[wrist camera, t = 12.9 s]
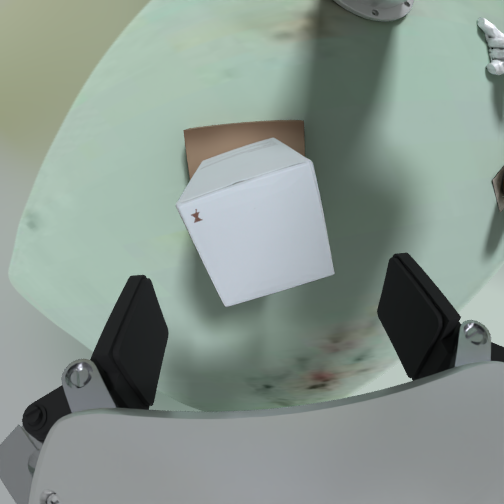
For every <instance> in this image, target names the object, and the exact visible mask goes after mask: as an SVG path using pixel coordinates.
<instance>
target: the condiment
mask: <svg viewBox="0 0 504 504" xmlns="http://www.w3.org/2000/svg"><path fill="white" fill-rule="evenodd" d="M493 185H494V189H495V194H496V198H497V202H498V207H499V210H500V213H501V211H502V210H503V209H504V197H503V196H504V166H503V168H502V169H501V170H500V172H499V173H498V174H497V175H496V177H495V178H494V179H493Z"/></svg>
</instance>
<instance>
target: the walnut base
mask: <svg viewBox="0 0 504 504" xmlns="http://www.w3.org/2000/svg"><path fill="white" fill-rule="evenodd" d="M184 138H185V146H186V154H187V162H188V169H189V176H190V180H191V178H192V177H193V175H194V173H195V172H196V170H197V169H198V167H199V166H200V164H201V163H202V161H203V160H206V159H209V158H211V157H214V156H217V155H220V154H222V153H225V152H228V151H231V150H234V149H237V148H240V147H243V146H246V145H249V144H252V143H255V142H259V141H262V140H266V139H270V138H275V139H277V140H279V141H281V142H282V143H284V144H285V145H287V146H289V147H290V148H292V149H293V150H295V151H296V152H298V153H299V154H301V155H303V156H304V157H305V139H304V121H302V120H274V121H256V122H242V123H231V124H221V125H212V126H204V127H196V128H189V129H186V130H184Z"/></svg>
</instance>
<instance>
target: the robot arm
mask: <svg viewBox="0 0 504 504" xmlns="http://www.w3.org/2000/svg"><path fill="white" fill-rule="evenodd" d="M334 1H335V2H336V3H337V4H339V5H340V6H342V7H343V8H345V9H346V10H348V11H350V12H352V13H354V14H356V15H358V16H361V17H363V18H366V19H370V20H374V21H382V22H386V21H394V20H397V19H399V18H402V17H404V16H405V15H406V14H408V13H409V12H410V10H411V9H412V6H413V2H414V0H334ZM377 313H378V317H379V319H380V321H381V323H382V325H383V327H384V329H385V331H386V333H387V335H388V336H389V338H390V340H391V342H392V344H393V346H394V348H395V350H396V352H397V355H398V357H399V359H400V361H401V363H402V365H403V367H404V369H405V371H406V373H407V375H408V377H409V378H412V380H413V381H411V382H408V383H404V384H401V385H397V386H394V387H390V388H386V389H383V390H379V391H374V392H371V393H366V394H362V395H357V396H352V397H347V398H342V399H337V400H332V401H326V402H320V403H313V404H306V405H299V406H291V407H282V408H272V409H261V410H246V411H221V412H189V411H187V412H186V411H159V410H149V406H152V405H153V403H154V399H155V394H156V389H157V384H158V379H159V375H160V370H161V366H162V361H163V357H164V352H165V348H166V344H167V340H168V328H167V325H166V322H165V320H164V317H163V314H162V311H161V309H160V306H159V303H158V300H157V297H156V294H155V291H154V288H153V285H152V282H151V280H150V279H149V278H146V276H145V275H135V276H130V277H129V279H128V281H127V283H126V285H125V287H124V289H123V291H122V293H121V294H120V296H119V298H118V300H117V302H116V304H115V306H114V309H113V311H112V313H111V315H110V317H109V319H108V321H107V323H106V325H105V327H104V329H103V332H102V334H101V336H100V338H99V340H98V343H97V345H96V347H95V350H94V352H93V354H92V357H91V359H90V360H88V359H78V360H76V361H73V362H72V363H71V364H69V365H68V366H67V367H66V369H65V370H64V372H63V374H62V386H60V387H59V388H57V389H55V390H54V391H52V392H50V393H49V394H47V395H45V396H44V397H42V398H40V399H39V400H37V401H35V402H34V403H32V404H31V405H29V406H28V407H27V409H26V410H25V412H24V414H23V419H22V422H23V426H22V427H21V426H20V425H18V426H17V427H16V428H15V429H14V430H13V431H12V432H11V433H10V435H9V436H8V437H7V438H6V439H5V440H4V441H3V442H2V444H1V445H0V478H1V480H2V482H3V483H4V485H5V486H6V488H7V490H8V491H9V493H10V494H11V496H12V497H13V499H14V500H15V502H16V503H17V504H504V347H502V346H499V345H497V344H495V343H492V342H491V336H490V333H489V331H488V329H487V328H486V327H485V326H484V325H483V324H481V323H480V322H478V321H474V320H467V321H465V322H463V323H462V324H460V322H459V320H460V318H461V317H460V315H459V314H458V313H457V311H456V310H455V309H454V307H453V306H452V305H451V303H450V302H449V301H448V300H447V298H446V297H445V296H444V295H443V293H442V292H441V291H440V290H439V288H438V287H437V286H436V285H435V284H434V282H433V281H432V280H431V279H430V278H429V276H428V275H427V274H426V273H425V272H424V271H423V269H422V268H421V267H420V266H419V265H418V264H417V263H416V261H415V260H414V259H413V258H412V257H411V256H410V255H409V254H408V253H399V254H394V255H393V257H392V258H390V260H389V263H388V268H387V273H386V277H385V281H384V286H383V290H382V294H381V298H380V302H379V305H378V310H377Z"/></svg>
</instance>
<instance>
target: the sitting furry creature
mask: <svg viewBox="0 0 504 504" xmlns="http://www.w3.org/2000/svg"><path fill="white" fill-rule="evenodd" d="M477 22H478V23H477V24H478V26H479V27H480V28H481V29H482V30H483V31H484V34H485V37H486V41H487V42H488V44H487V45H488V46H489V47H490V50H489V52H491V53H489V55H490V58H491V63H489V64H488V65H487V66H486V68H488V69H487V70H488V71H489V72H490V73H492V74H497V75H501V74H503V73H504V34H503V33H501V32H500V31H499V30H498V29H497V28H496V27H495V25H494V24H492V23H491V22H489V21H487V20H486V19H485V18H483V17H480V18H478V20H477ZM489 37H490V38H489ZM491 47H493V48H494V49H491ZM492 58H493V60H492ZM495 59H496V60H495Z"/></svg>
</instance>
